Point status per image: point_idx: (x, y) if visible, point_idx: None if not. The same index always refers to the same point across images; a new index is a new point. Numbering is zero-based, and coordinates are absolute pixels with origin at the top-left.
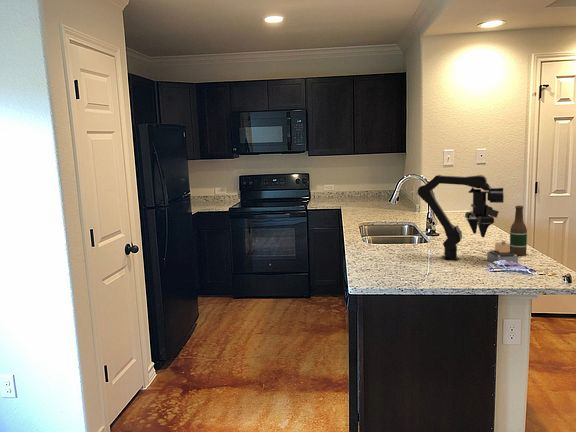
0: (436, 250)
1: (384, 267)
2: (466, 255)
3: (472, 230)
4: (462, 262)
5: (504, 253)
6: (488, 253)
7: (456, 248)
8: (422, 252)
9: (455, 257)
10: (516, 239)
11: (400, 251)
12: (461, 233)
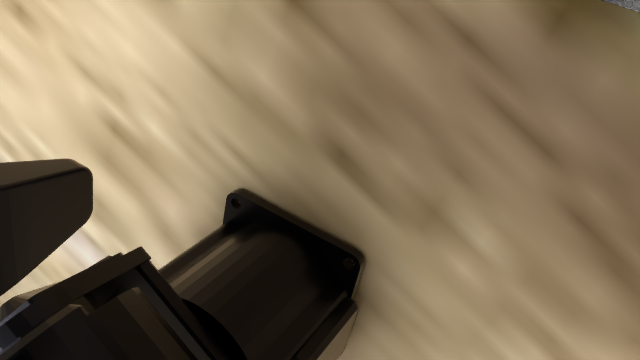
0: (13, 132)
1: None
2: (232, 29)
3: (5, 285)
4: (489, 331)
5: None
6: (628, 5)
7: (260, 331)
8: (57, 271)
9: (352, 317)
10: None
11: None
12: (27, 348)
